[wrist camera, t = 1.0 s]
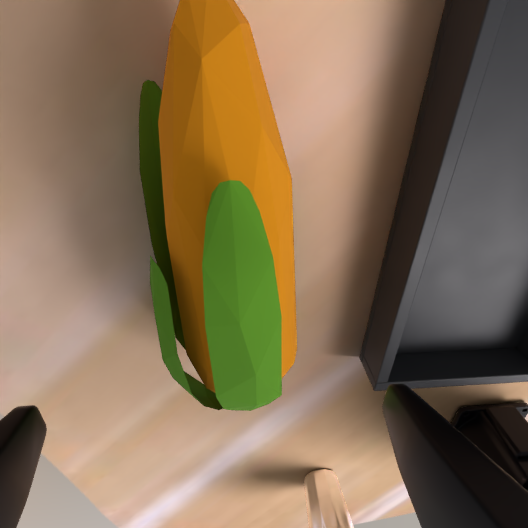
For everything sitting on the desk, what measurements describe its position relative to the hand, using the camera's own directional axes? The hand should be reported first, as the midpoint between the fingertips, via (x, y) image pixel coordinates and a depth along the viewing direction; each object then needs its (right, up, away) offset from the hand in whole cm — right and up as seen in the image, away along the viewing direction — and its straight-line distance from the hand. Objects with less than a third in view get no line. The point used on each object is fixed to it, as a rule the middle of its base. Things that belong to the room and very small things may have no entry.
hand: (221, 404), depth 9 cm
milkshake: (+7, -18, +26) cm, 32 cm away
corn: (-1, +6, +10) cm, 12 cm away
